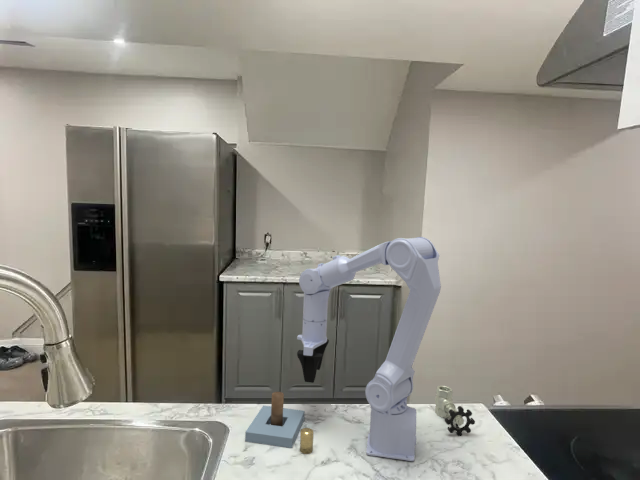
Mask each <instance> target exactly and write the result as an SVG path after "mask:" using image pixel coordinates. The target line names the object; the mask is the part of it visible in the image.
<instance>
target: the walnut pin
mask: <svg viewBox="0 0 640 480" xmlns="http://www.w3.org/2000/svg"><path fill="white" fill-rule="evenodd" d="M284 397H285V395H284V392H282V391H274V392H272V393H271V405H270V406H271V424H270V425H275V426H282V427H283V408H284V400H285V399H284Z"/></svg>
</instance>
